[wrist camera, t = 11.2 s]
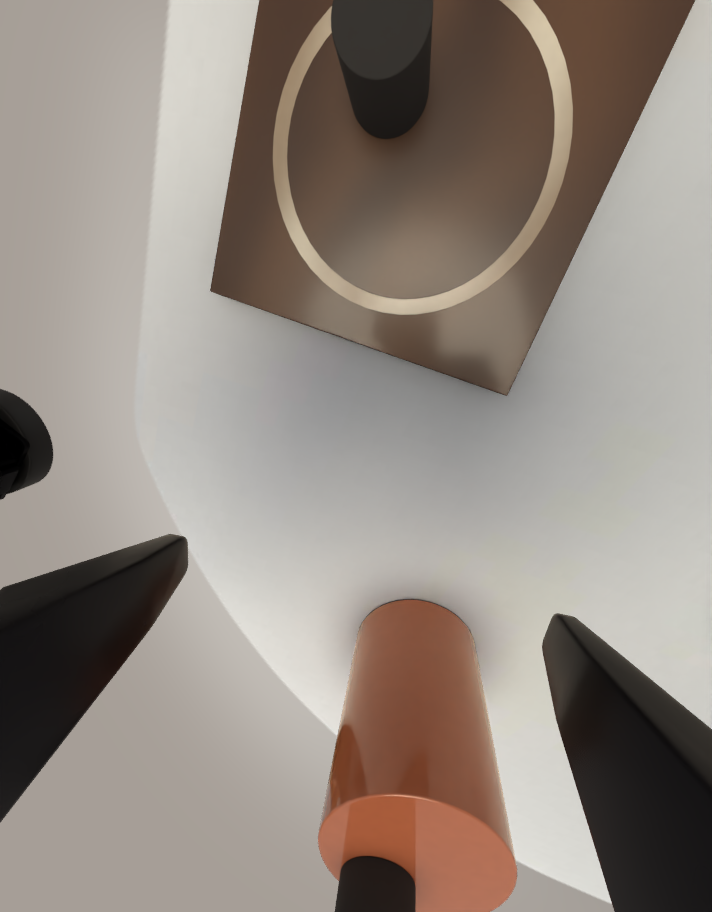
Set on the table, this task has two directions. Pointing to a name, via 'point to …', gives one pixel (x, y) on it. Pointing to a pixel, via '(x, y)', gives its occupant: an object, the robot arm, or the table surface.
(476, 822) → the pedestal
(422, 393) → the table surface
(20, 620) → the robot arm
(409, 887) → the dot
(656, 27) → the board
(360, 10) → the dot
